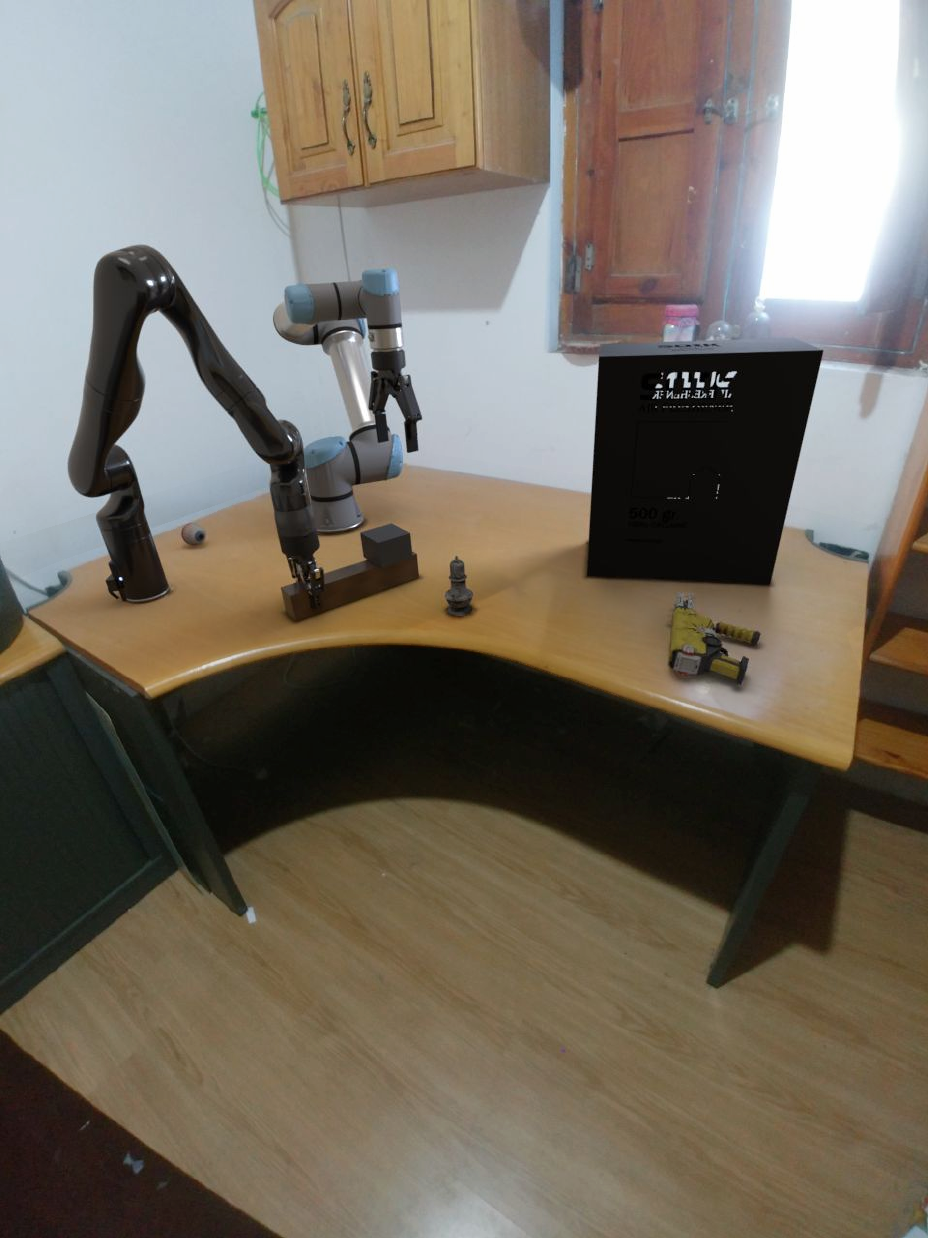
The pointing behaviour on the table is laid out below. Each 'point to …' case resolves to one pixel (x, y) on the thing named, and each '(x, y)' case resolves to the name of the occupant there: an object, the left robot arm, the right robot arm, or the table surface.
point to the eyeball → (193, 534)
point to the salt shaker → (458, 590)
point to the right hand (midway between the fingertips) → (397, 446)
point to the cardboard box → (696, 457)
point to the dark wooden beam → (348, 586)
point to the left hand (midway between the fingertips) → (312, 603)
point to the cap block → (386, 545)
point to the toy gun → (704, 643)
